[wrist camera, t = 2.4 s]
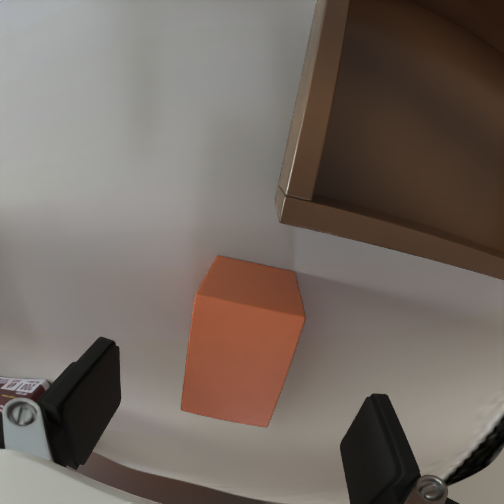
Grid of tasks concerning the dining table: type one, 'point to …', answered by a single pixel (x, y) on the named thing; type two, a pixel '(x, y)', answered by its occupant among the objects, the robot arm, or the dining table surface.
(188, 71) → the dining table surface
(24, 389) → the supplement box
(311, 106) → the wooden holder
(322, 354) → the dining table surface
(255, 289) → the orange block
